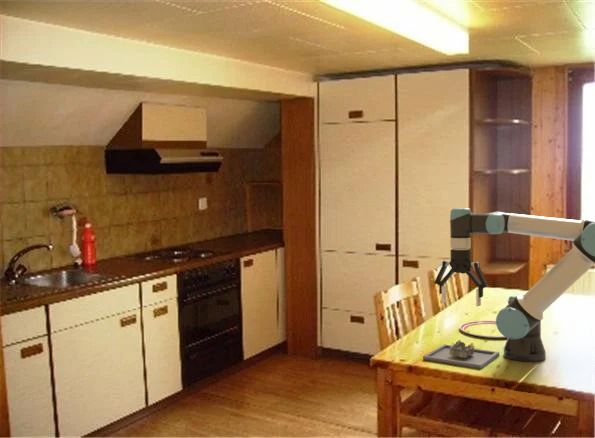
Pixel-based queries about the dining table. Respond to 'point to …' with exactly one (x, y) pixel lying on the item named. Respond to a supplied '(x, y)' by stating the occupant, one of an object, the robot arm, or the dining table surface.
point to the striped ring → (465, 325)
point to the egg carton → (461, 349)
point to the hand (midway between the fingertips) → (461, 304)
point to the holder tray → (472, 361)
